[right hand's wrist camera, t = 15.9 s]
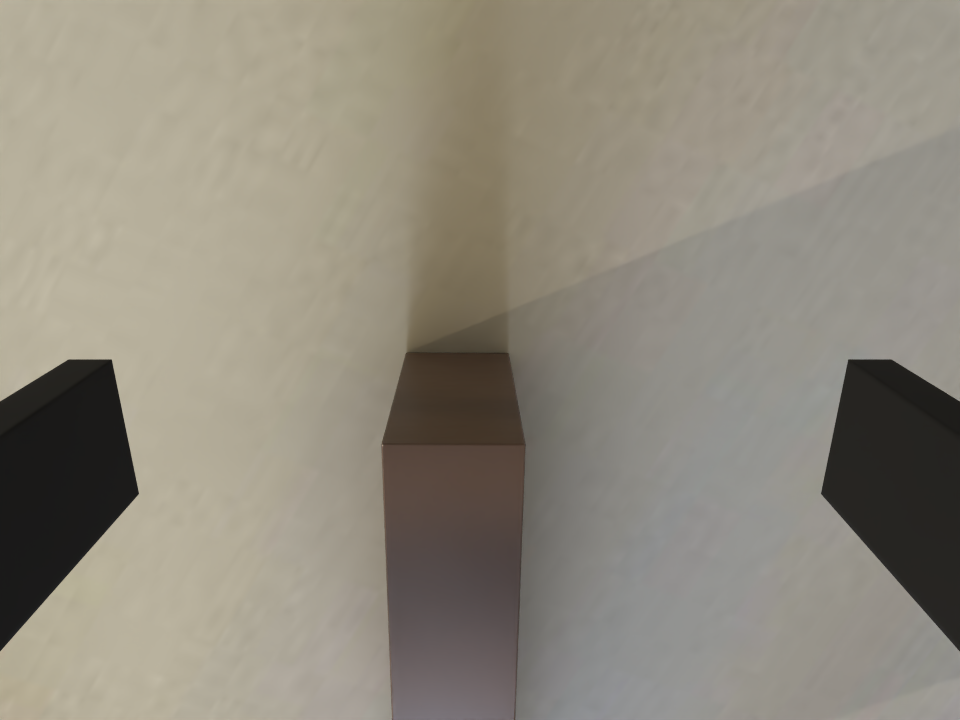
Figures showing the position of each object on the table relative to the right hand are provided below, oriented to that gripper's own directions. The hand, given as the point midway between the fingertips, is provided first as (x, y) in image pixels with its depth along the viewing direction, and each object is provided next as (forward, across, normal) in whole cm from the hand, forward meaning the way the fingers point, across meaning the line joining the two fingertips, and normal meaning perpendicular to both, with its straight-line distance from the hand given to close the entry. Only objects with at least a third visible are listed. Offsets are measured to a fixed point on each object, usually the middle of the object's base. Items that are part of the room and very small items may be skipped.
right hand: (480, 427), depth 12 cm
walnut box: (+19, -1, -22) cm, 29 cm away
